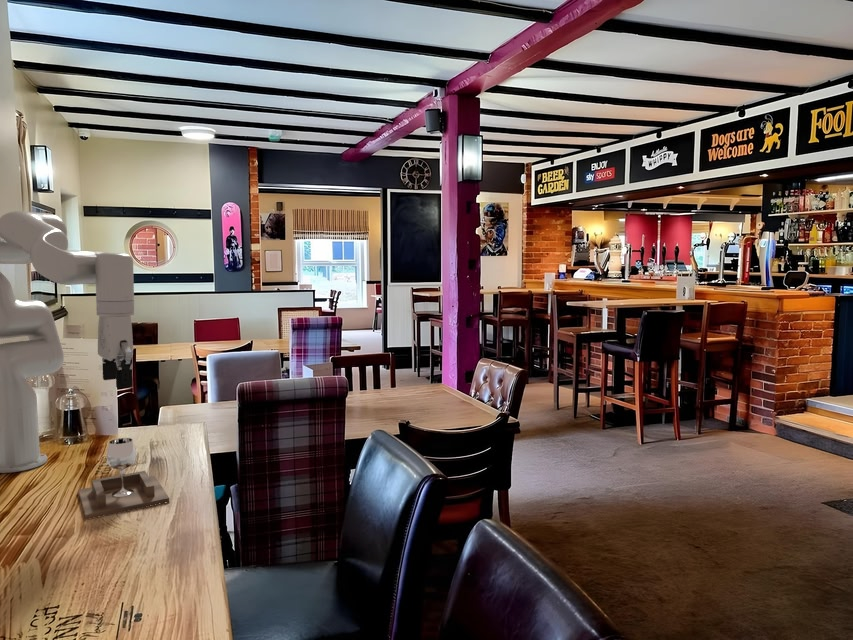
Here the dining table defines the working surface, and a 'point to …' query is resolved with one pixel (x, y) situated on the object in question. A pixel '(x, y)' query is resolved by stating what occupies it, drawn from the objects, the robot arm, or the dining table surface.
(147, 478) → the u rest
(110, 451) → the wineglass
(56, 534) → the dining table surface
